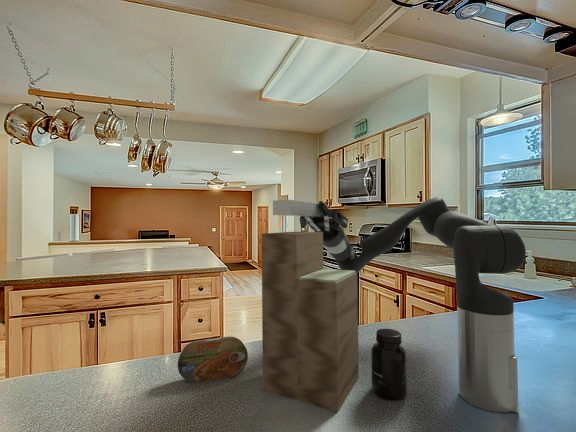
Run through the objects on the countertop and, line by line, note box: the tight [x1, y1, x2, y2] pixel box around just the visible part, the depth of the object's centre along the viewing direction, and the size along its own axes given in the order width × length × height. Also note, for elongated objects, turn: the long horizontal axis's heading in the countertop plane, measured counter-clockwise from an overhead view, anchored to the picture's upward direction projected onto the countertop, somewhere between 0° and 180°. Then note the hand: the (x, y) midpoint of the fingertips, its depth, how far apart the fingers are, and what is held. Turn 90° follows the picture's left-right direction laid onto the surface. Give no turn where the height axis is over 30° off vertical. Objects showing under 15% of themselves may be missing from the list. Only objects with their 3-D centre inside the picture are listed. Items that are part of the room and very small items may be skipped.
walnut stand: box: [261, 231, 360, 413], centre depth 66 cm, size 16×14×32 cm
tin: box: [177, 336, 249, 383], centre depth 70 cm, size 15×3×8 cm, turn 105°
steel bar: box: [272, 199, 329, 217], centre depth 74 cm, size 4×22×3 cm, turn 152°
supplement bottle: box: [370, 328, 408, 402], centre depth 63 cm, size 7×7×12 cm
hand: (311, 204), depth 78 cm, fingers closed on steel bar, 4 cm apart
